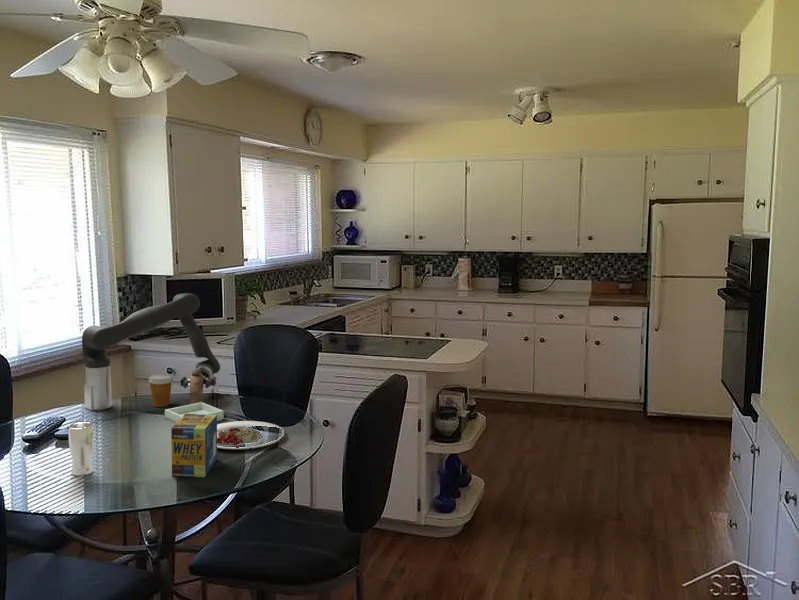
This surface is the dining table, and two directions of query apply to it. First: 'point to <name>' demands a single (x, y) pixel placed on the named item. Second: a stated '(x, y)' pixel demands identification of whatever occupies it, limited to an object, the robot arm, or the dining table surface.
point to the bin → (192, 411)
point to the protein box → (194, 445)
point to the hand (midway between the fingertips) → (195, 385)
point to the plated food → (242, 434)
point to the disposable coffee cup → (160, 389)
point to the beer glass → (81, 447)
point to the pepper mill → (196, 387)
